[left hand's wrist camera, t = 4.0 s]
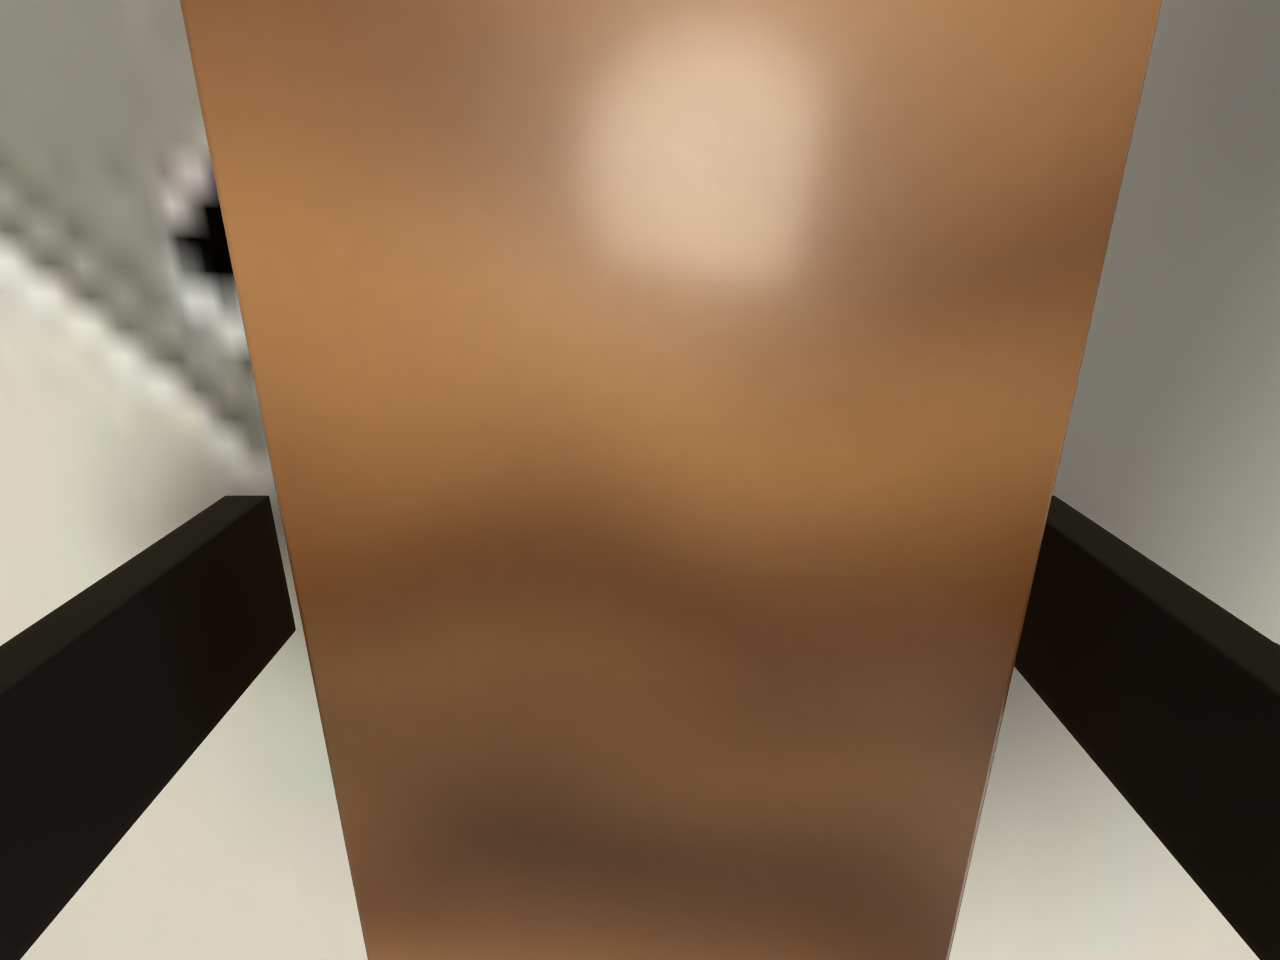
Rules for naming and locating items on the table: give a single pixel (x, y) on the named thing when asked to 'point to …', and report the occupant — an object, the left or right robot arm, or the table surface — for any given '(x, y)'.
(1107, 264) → the table surface
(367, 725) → the thick board
